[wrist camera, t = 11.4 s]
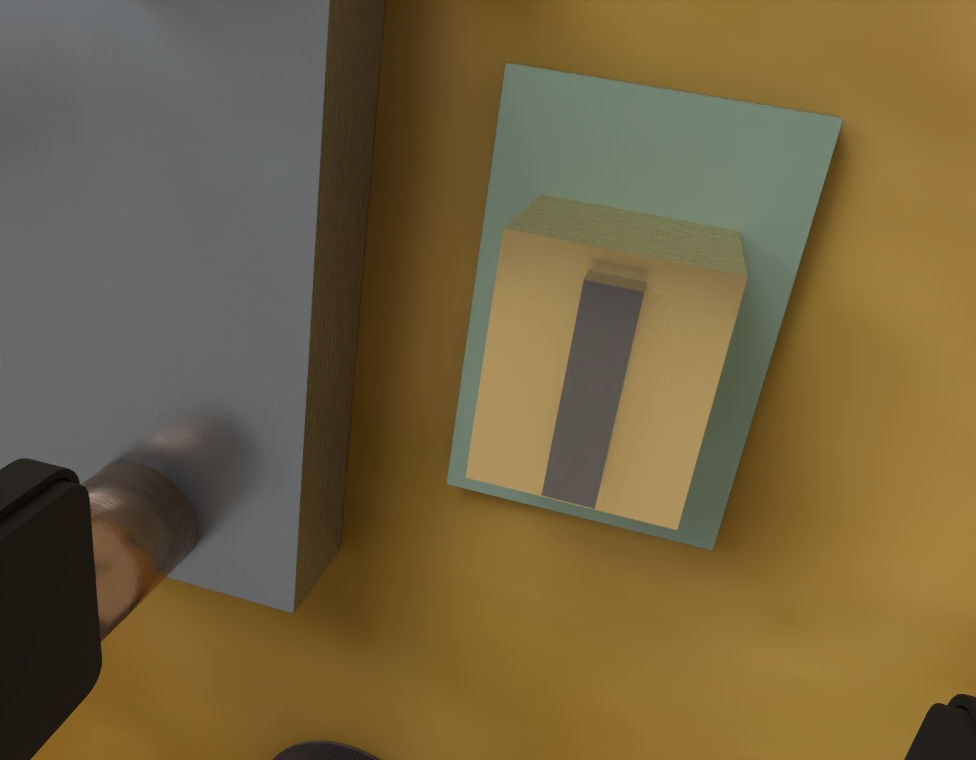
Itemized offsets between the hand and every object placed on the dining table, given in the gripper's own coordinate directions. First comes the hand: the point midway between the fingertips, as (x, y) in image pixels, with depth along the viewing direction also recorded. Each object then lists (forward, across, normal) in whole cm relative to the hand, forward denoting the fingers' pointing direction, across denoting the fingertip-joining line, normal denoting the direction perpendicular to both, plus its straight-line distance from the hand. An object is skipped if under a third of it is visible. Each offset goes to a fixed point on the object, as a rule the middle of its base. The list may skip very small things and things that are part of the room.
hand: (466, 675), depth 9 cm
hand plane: (+15, +12, +1) cm, 19 cm away
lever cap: (+14, -1, +1) cm, 14 cm away
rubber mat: (+15, -1, +1) cm, 15 cm away
